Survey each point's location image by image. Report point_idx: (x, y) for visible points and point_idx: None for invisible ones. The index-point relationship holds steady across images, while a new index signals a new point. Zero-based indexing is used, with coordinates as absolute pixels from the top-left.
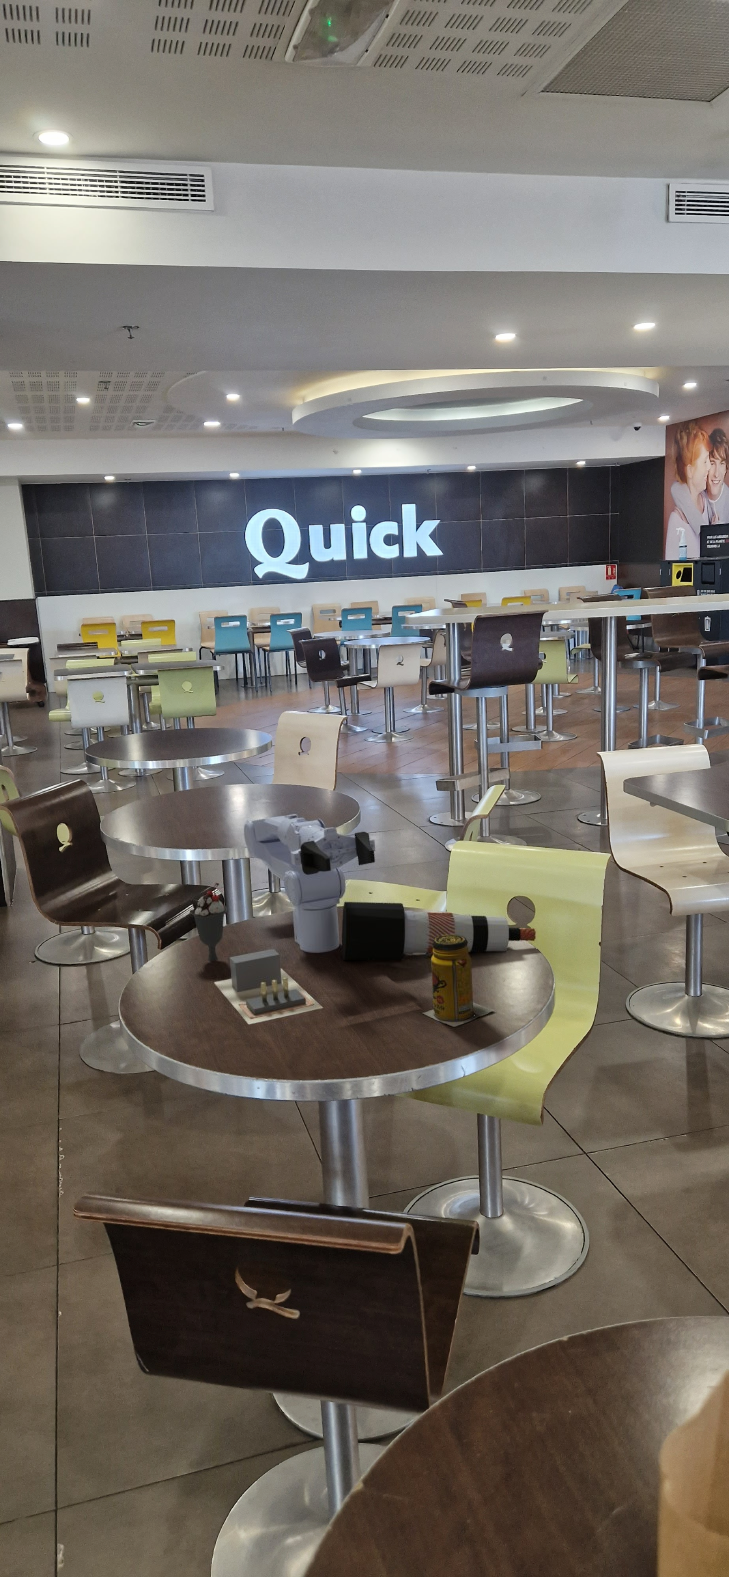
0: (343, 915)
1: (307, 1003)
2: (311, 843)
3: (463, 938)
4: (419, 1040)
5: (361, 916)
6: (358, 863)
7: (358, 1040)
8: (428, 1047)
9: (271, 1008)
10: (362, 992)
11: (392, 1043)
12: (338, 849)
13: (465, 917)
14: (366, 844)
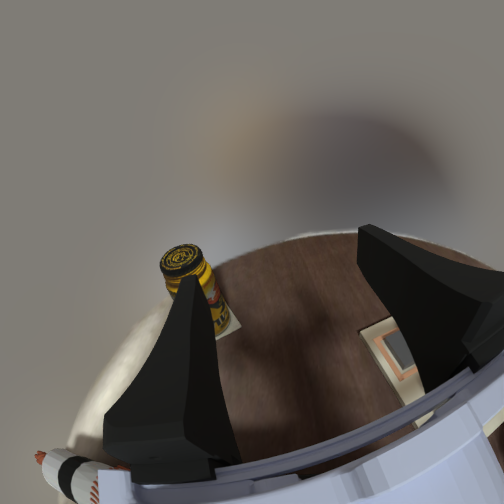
0: None
1: (382, 344)
2: (483, 287)
3: (164, 257)
4: (258, 279)
5: None
6: (240, 462)
7: (316, 280)
8: (254, 268)
9: None
10: (306, 398)
11: (284, 275)
12: (338, 447)
13: (80, 475)
14: (180, 318)
